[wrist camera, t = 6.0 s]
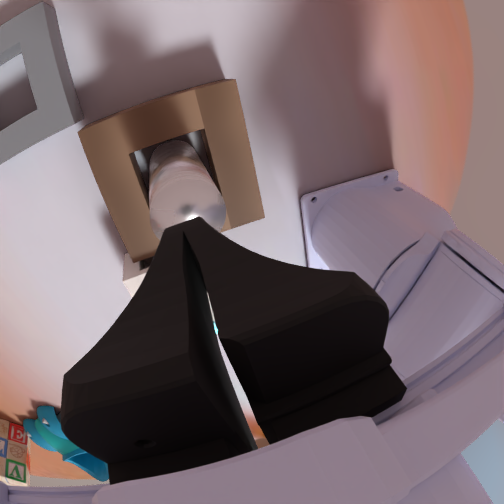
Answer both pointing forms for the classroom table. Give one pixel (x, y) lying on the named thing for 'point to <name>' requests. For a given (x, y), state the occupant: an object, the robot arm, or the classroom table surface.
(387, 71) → the classroom table surface
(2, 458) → the stack of blocks
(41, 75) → the block
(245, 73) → the classroom table surface
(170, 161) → the steel peg
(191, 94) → the socket block
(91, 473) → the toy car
